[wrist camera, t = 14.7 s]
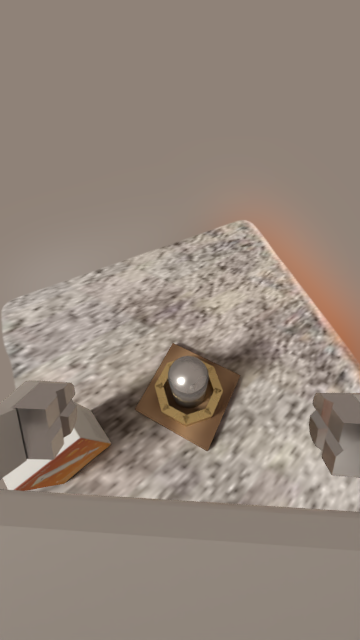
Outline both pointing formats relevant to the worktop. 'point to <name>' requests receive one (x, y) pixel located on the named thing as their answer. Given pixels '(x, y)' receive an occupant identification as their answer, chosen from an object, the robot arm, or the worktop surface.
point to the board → (199, 431)
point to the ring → (195, 416)
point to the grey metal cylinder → (188, 381)
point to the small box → (62, 456)
